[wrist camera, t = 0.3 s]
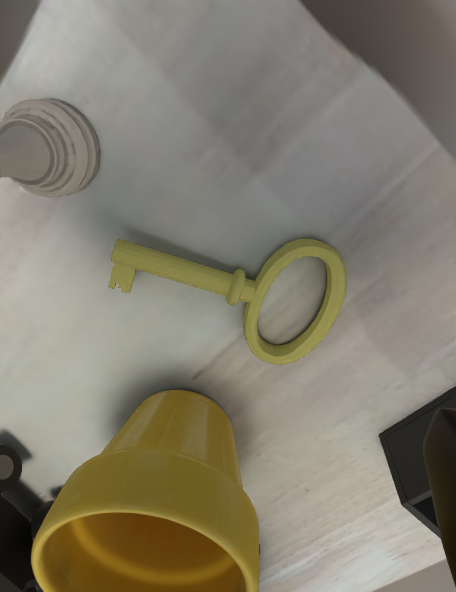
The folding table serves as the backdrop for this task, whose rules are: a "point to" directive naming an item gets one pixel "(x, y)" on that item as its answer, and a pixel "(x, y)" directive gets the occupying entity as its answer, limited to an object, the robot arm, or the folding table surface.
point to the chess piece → (48, 147)
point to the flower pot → (155, 509)
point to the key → (243, 288)
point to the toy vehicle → (16, 531)
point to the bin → (414, 460)
